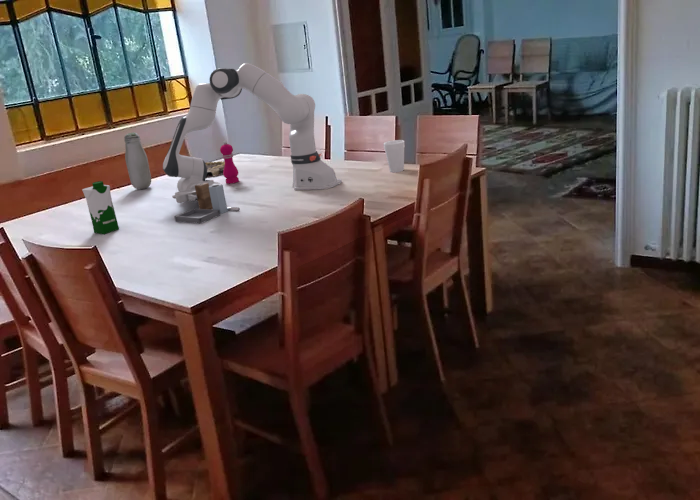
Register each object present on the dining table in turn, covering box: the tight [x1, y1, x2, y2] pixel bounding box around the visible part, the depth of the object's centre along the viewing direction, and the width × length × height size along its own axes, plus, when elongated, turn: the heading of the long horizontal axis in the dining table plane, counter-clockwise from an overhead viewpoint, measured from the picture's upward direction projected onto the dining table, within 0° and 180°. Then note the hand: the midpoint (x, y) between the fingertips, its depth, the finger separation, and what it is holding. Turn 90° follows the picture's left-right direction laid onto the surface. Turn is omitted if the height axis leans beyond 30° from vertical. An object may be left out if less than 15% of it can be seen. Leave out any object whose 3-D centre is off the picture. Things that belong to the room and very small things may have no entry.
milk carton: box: [81, 180, 120, 235], centre depth 271 cm, size 9×9×20 cm
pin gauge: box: [227, 206, 241, 212], centre depth 281 cm, size 10×2×2 cm
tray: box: [174, 207, 221, 224], centre depth 274 cm, size 14×11×2 cm
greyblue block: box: [209, 184, 229, 215], centre depth 278 cm, size 4×4×11 cm
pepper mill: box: [219, 140, 240, 185], centre depth 329 cm, size 7×7×20 cm
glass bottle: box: [123, 132, 152, 190], centre depth 340 cm, size 10×10×28 cm
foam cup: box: [383, 139, 406, 173], centre depth 309 cm, size 10×9×13 cm
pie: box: [205, 160, 225, 178], centre depth 362 cm, size 28×27×5 cm
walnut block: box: [195, 183, 213, 210], centre depth 285 cm, size 4×4×11 cm
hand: (204, 196), depth 284 cm, fingers open, 6 cm apart
